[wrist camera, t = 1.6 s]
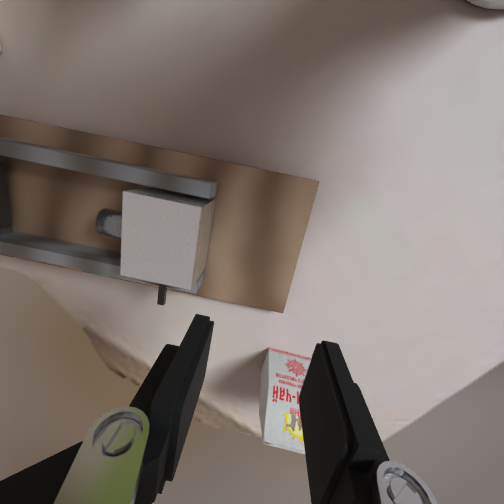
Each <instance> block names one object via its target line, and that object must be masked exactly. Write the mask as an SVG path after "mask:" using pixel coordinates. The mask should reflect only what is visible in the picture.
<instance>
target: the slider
mask: <svg viewBox="0 0 504 504" xmlns="http://www.w3.org/2000/svg"><path fill="white" fill-rule="evenodd" d="M214 204H215V200H213V199H208V198H203V197H198V196H194V195H189V194H184V193H179V192H174V191H170V190H165V189H160V188H155V187H148V188H141V189H134V190H127V191H123V203H122V211H117V210H112V209H108V208H104V209H102V210H101V211H100V212H99V213H98V215H97V217H96V221H95V227H96V231H97V232H98V234H100V235H104V236H109V237H114V238H119V239H121V270H120V275H121V276H126V277H131V278H136V279H141V280H145V281H150V282H155V283H159V291H158V302H157V304H159V305H164V304H165V301H166V291H167V285H169V286H174V287H179V288H184V289H188V290H191V289H192V287H193V286H194V284H195V283H196V281H197V279H198V278H199V276H200V275H201V273H202V272H203V270H204V269H205V265H206V259H207V252H208V245H209V238H210V232H211V225H212V218H213V211H214Z"/></svg>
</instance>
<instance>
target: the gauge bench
mask: <svg viewBox="0 0 504 504" xmlns="http://www.w3.org/2000/svg"><path fill="white" fill-rule="evenodd" d="M318 183H319V181H316V180H311V179H306V178H301V177H296V176H292V175H287V174H282V173H277V172H272V171H268V170H263V169H258V168H253V167H248V166H244V165H239V164H234V163H229V162H224V161H220V160H215V159H210V158H205V157H200V156H196V155H191V154H186V153H181V152H176V151H172V150H167V149H162V148H157V147H152V146H148V145H143V144H138V143H133V142H128V141H124V140H119V139H114V138H109V137H104V136H100V135H95V134H90V133H85V132H80V131H76V130H71V129H66V128H61V127H56V126H52V125H47V124H42V123H37V122H32V121H28V120H23V119H18V118H13V117H8V116H4V115H0V254H2V255H6V256H11V257H16V258H21V259H26V260H30V261H35V262H40V263H45V264H49V265H54V266H59V267H64V268H69V269H73V270H78V271H83V272H88V273H93V274H97V275H102V276H107V277H112V278H117V279H121V280H126V281H131V282H136V283H141V284H145V285H150V286H155V287H159V283H155V282H150V281H145V280H141V279H136V278H131V277H126V276H121V275H120V270H121V239H119V238H114V237H109V236H104V235H100V234H98V232H97V231H96V227H95V221H96V217H97V215H98V213H99V212H100V211H101V210H102V209H104V208H108V209H112V210H117V211H122V203H123V191H127V190H134V189H141V188H148V187H155V188H160V189H165V190H170V191H174V192H179V193H184V194H189V195H194V196H198V197H203V198H208V199H213V200H215V204H214V211H213V218H212V225H211V232H210V238H209V245H208V252H207V259H206V265H205V269H204V270H203V272H202V273H201V275H200V276H199V278H198V279H197V281H196V283H195V284H194V286H193V287H192V289H191V290H188V289H184V288H179V287H174V286H169V285H167V289H169V290H174V291H179V292H184V293H189V294H193V295H198V296H203V297H208V298H213V299H217V300H222V301H227V302H232V303H237V304H241V305H246V306H251V307H256V308H261V309H265V310H270V311H275V312H280V313H283V311H284V308H285V304H286V300H287V297H288V293H289V290H290V286H291V282H292V279H293V275H294V271H295V268H296V264H297V260H298V257H299V253H300V249H301V246H302V242H303V238H304V235H305V231H306V227H307V224H308V220H309V216H310V213H311V209H312V205H313V202H314V198H315V194H316V191H317V187H318Z"/></svg>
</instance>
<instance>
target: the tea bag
mask: <svg viewBox="0 0 504 504" xmlns="http://www.w3.org/2000/svg"><path fill="white" fill-rule="evenodd" d="M310 362H311V358H307V357H303V356H299V355H295V354H292V353H288V352H284V351H280V350H276V349H272V348H268V351H267V354H266V357H265V360H264V363H263V366H262V369H261V381H260V405H259V416H260V423H261V429H262V441H263V444H267V445H271V446H275V447H278V448H282V449H286V450H290V451H294V452H298V453H302V454H305V448H304V440H303V432H302V424H301V416H300V408H299V395H300V391H301V388H302V385H303V382H304V379H305V376H306V373H307V370H308V368H309V365H310Z"/></svg>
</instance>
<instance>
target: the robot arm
mask: <svg viewBox="0 0 504 504" xmlns="http://www.w3.org/2000/svg"><path fill="white" fill-rule="evenodd" d="M467 1H469V2H470V3H472V4H474V5H477V6H480V7H484V8H487V9H504V0H467ZM213 326H214V321H210V317H208V316H203V315H199V314H196V315H195V317H194V319H193V321H192V323H191V325H190V327H189V329H188V331H187V333H186V335H185V337H184V339H183V341H182V342H181V344H180V346H175V345H170V344H166V345H165V347H164V348H163V350H162V352H161V353H160V355H159V357H158V358H157V360H156V362H155V363H154V365H153V367H152V368H151V370H150V372H149V373H148V375H147V377H146V379H145V380H144V382H143V384H142V385H141V387H140V389H139V390H138V392H137V394H136V395H135V397H134V399H133V400H132V402H131V404H130V405H129V407H128V406H127V407H119V408H116V409H113V410H110V411H108V412H107V413H105V414H104V415H102V416H100V418H98V419H97V420H96V421H95V422H94V423H93V424H92V426H91V428H90V429H89V431H88V432H87V434H86V437H85V439H84V441H82V442H80V443H78V444H75V445H73V446H71V447H69V448H67V449H65V450H63V451H61V452H59V453H57V454H55V455H53V456H51V457H49V458H47V459H45V460H43V461H41V462H39V463H37V464H35V465H32V466H31V467H28V468H26V469H24V470H22V471H20V472H18V473H16V474H14V475H12V476H10V477H8V478H6V479H4V480H2V481H0V504H152V503H153V502H154V501H155V499H156V495H157V493H160V494H161V493H162V490H163V487H164V484H165V481H166V480H167V481H172V480H173V478H174V475H175V472H176V468H177V465H178V462H179V459H180V456H181V452H182V449H183V445H184V443H185V439H186V436H187V433H188V430H189V426H190V423H191V420H192V417H193V414H194V410H195V407H196V404H197V401H198V398H199V394H200V391H201V388H202V385H203V381H204V377H205V372H206V367H207V361H208V355H209V349H210V344H211V338H212V332H213ZM299 408H300V416H301V424H302V432H303V440H304V448H305V455H306V463H307V471H308V479H309V487H310V495H311V503H312V504H437V502H436V500H435V498H434V496H433V494H432V493H431V491H430V490H429V489H428V487H427V485H426V484H425V483H424V482H423V481H422V480H421V479H420V478H419V477H418V475H416V474H415V473H414V472H413V471H411V470H410V469H409V468H408V467H406V466H404V465H402V464H400V463H397V462H393V461H389V458H388V456H387V453H386V451H385V449H384V446H383V443H382V441H381V439H380V436H379V434H378V431H377V429H376V427H375V424H374V422H373V419H372V417H371V415H370V412H369V410H368V407H367V405H366V402H365V400H364V398H363V395H362V393H361V390H360V388H359V386H358V385H357V384H356V383H354V382H353V380H352V377H351V375H350V372H349V370H348V367H347V365H346V362H345V360H344V357H343V355H342V352H341V350H340V347H339V345H338V344H337V343H333V342H328V341H322V342H321V344H319V343H317V344H316V347H315V350H314V353H313V356H312V359H311V362H310V365H309V368H308V370H307V373H306V376H305V379H304V382H303V385H302V388H301V391H300V395H299Z"/></svg>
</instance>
